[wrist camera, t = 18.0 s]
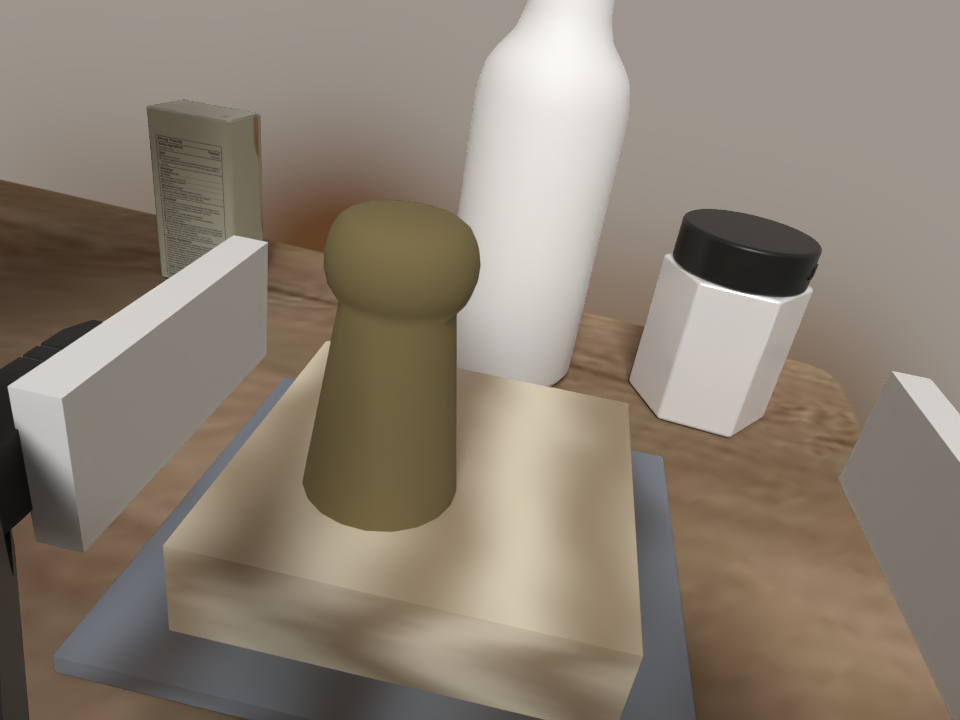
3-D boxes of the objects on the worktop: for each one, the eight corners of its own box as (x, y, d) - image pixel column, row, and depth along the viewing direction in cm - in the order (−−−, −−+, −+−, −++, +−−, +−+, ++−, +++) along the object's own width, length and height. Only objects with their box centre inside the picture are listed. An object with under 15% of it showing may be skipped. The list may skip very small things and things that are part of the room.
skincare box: (265, 276, 56) (267, 113, 50) (236, 295, 52) (234, 121, 46) (189, 257, 57) (183, 95, 51) (155, 276, 53) (144, 102, 47)
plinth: (55, 671, 25) (35, 567, 22) (284, 388, 42) (286, 314, 40) (700, 830, 23) (749, 736, 21) (658, 468, 41) (682, 396, 38)
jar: (784, 438, 46) (859, 261, 40) (671, 440, 44) (733, 253, 38) (713, 368, 53) (767, 211, 48) (613, 366, 51) (658, 201, 46)
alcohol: (477, 408, 43) (586, -209, 29) (416, 341, 50) (481, -191, 36) (592, 388, 48) (734, -158, 34) (522, 329, 54) (617, -150, 40)
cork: (306, 537, 25) (319, 237, 20) (298, 437, 30) (307, 176, 25) (472, 526, 27) (524, 247, 22) (439, 433, 32) (474, 189, 27)
